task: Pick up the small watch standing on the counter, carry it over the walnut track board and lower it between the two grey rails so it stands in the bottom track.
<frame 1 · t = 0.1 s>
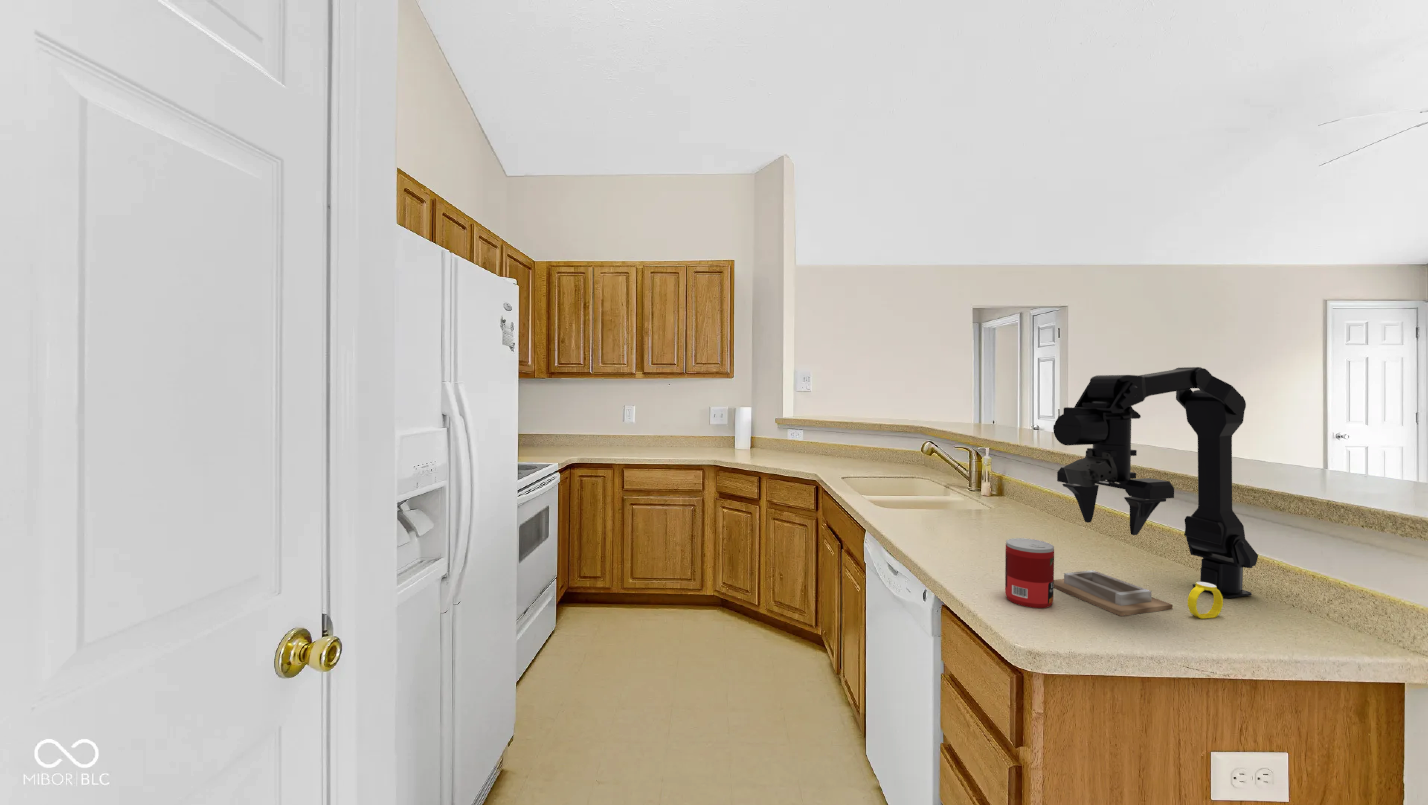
hand: (1110, 528, 102), 15 cm above the worktop, fingers open, 9 cm apart
canned food: (1028, 601, 106), on the worktop
track board: (1105, 596, 108), on the worktop
watch: (1204, 618, 98), on the worktop
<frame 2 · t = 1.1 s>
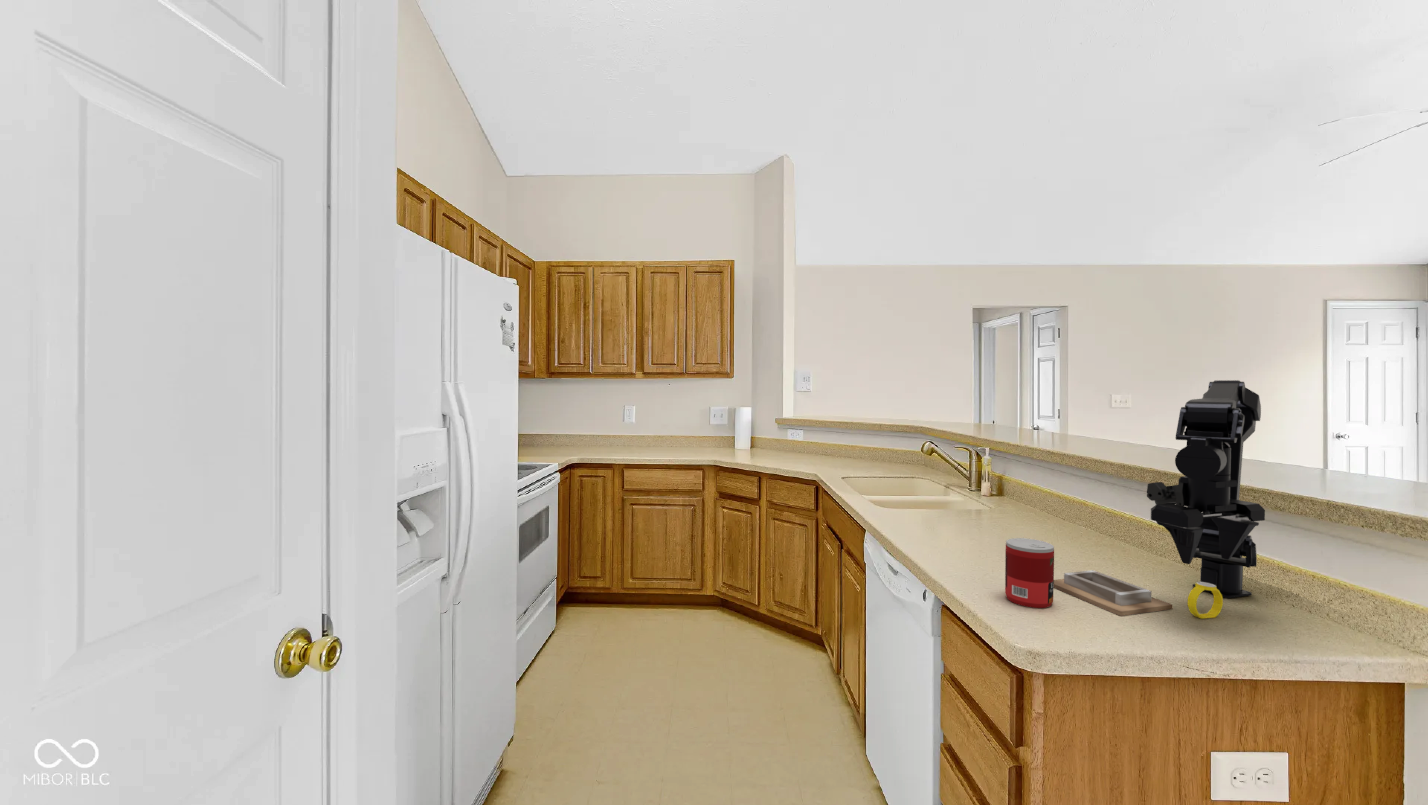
hand: (1206, 561, 98), 10 cm above the worktop, fingers open, 9 cm apart
nothing on the worktop moved.
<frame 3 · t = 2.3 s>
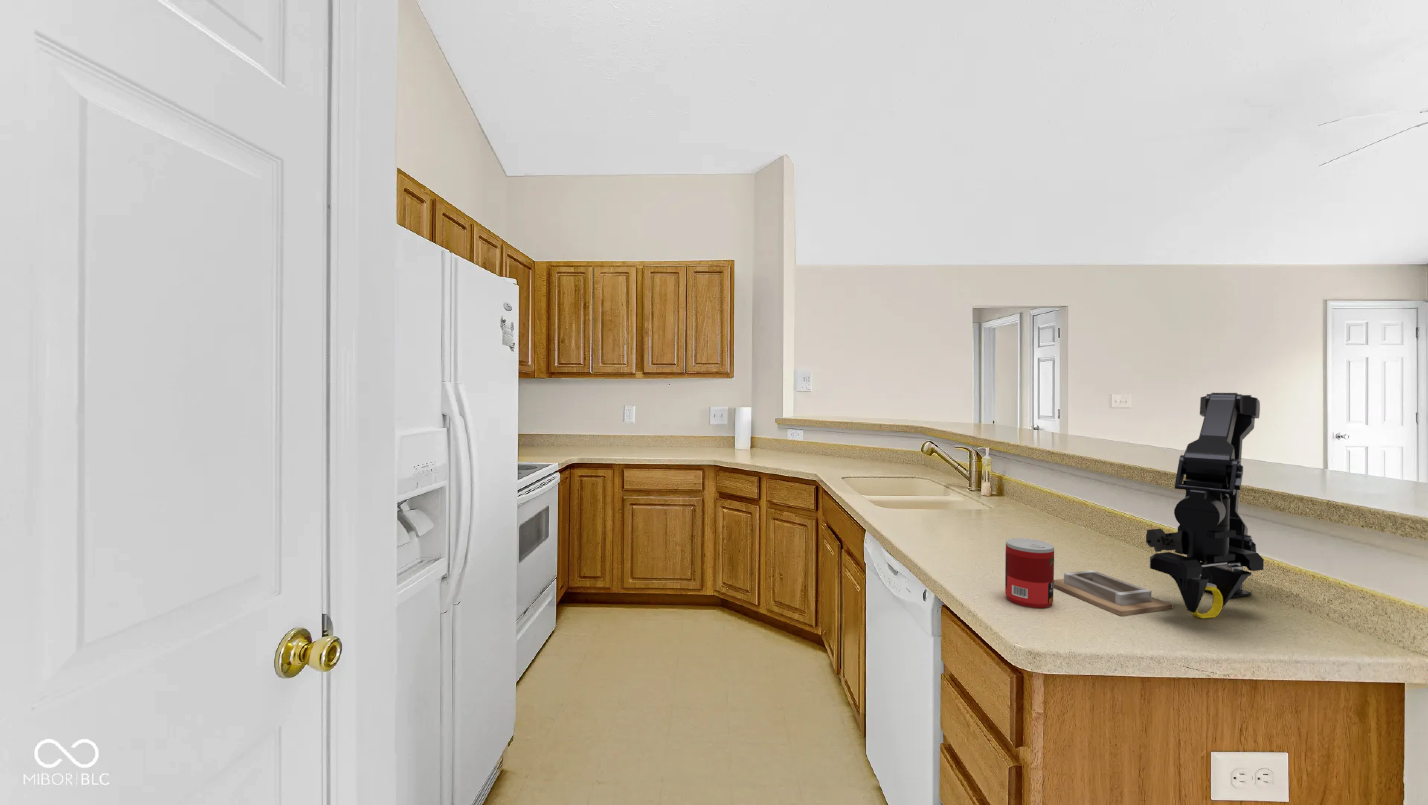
hand: (1205, 609, 98), 1 cm above the worktop, fingers closed on watch, 6 cm apart
watch: (1204, 617, 98), on the worktop, touching gripper
everything else where it was.
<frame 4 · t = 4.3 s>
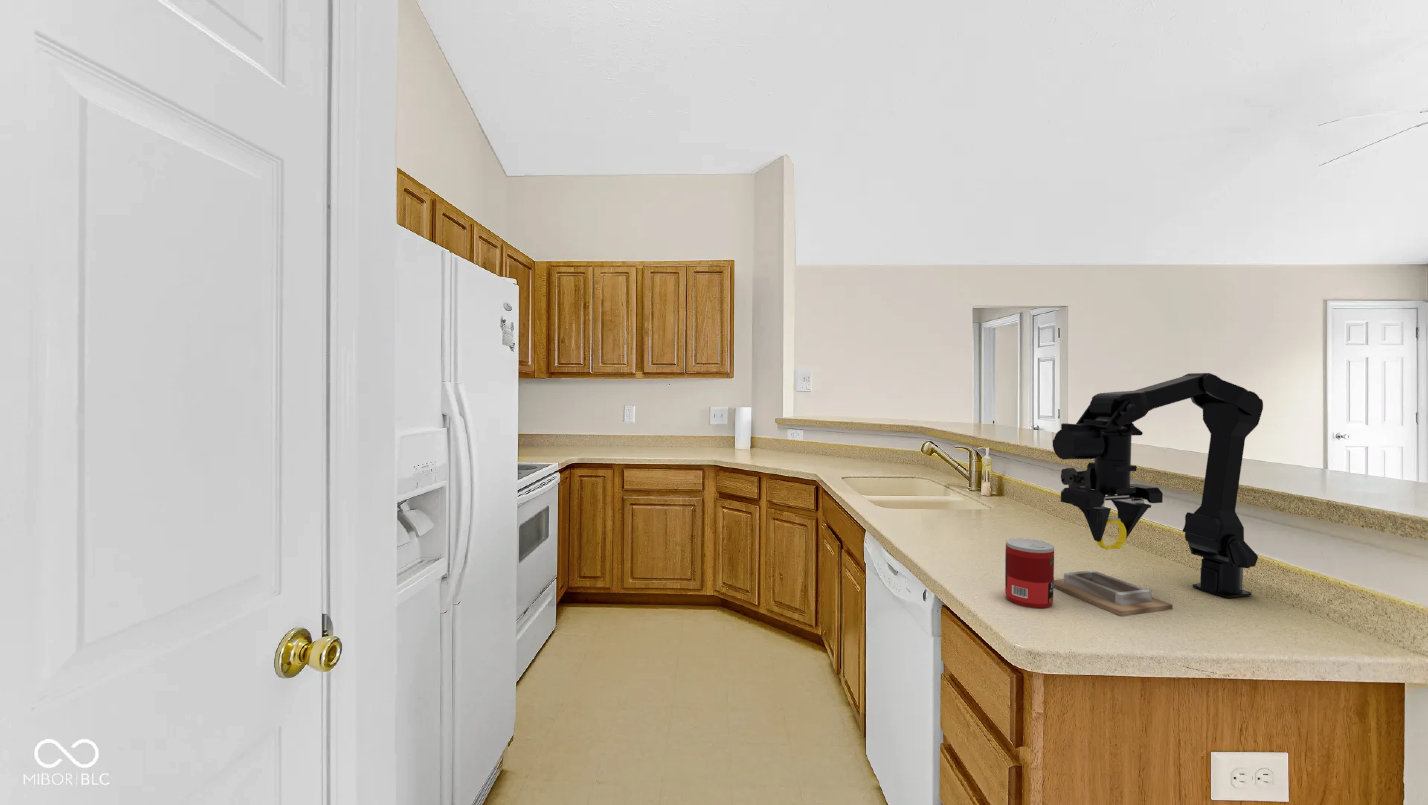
hand: (1110, 539, 107), 11 cm above the worktop, fingers closed on watch, 6 cm apart
watch: (1110, 549, 107), point 9 cm above the worktop, touching gripper
everything else where it was.
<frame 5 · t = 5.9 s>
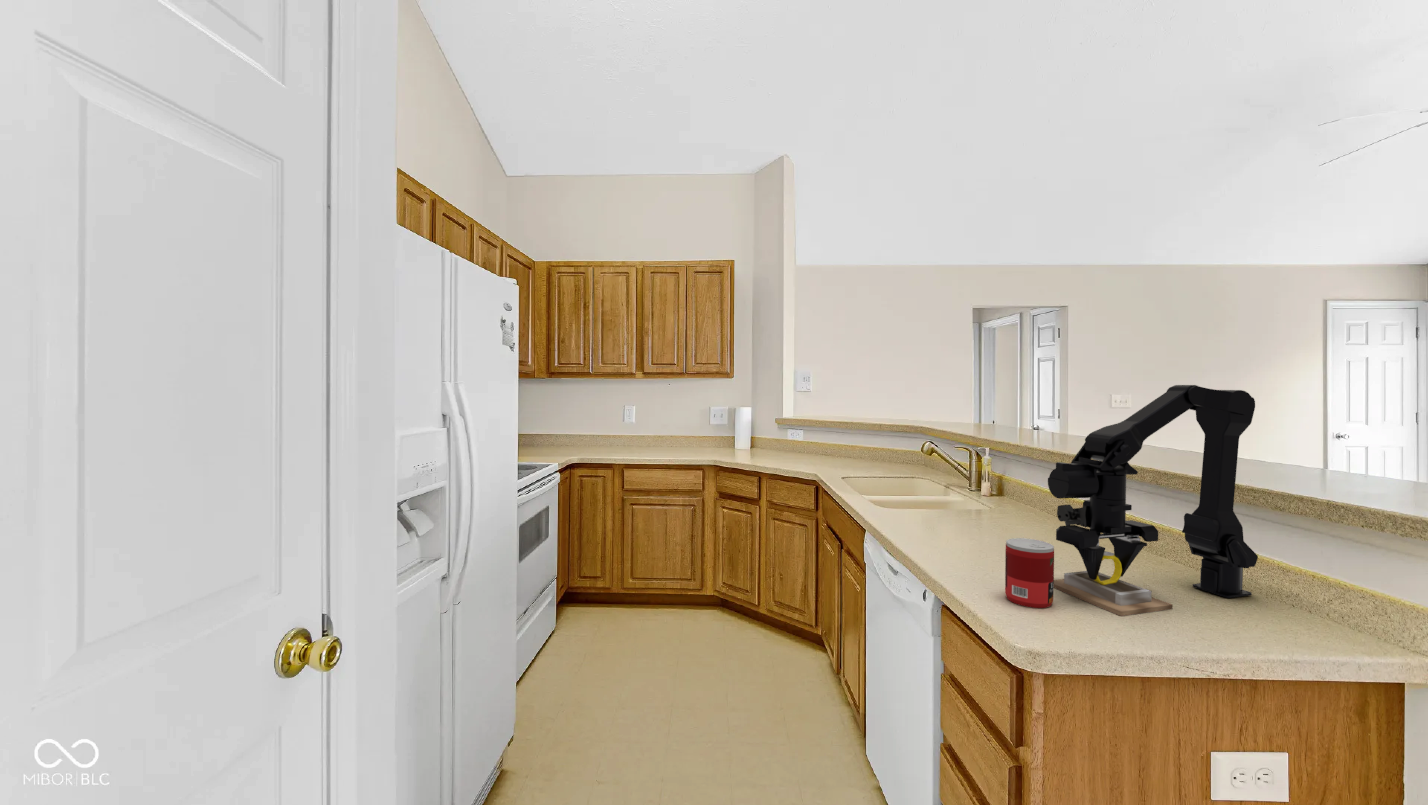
hand: (1105, 577, 108), 4 cm above the worktop, fingers closed on watch, 6 cm apart
watch: (1107, 584, 108), point 2 cm above the worktop, touching gripper, track board
everything else where it was.
when the fingers open (4 cm above the worktop, at t = 6.6 s): watch stays where it is, resting on track board.
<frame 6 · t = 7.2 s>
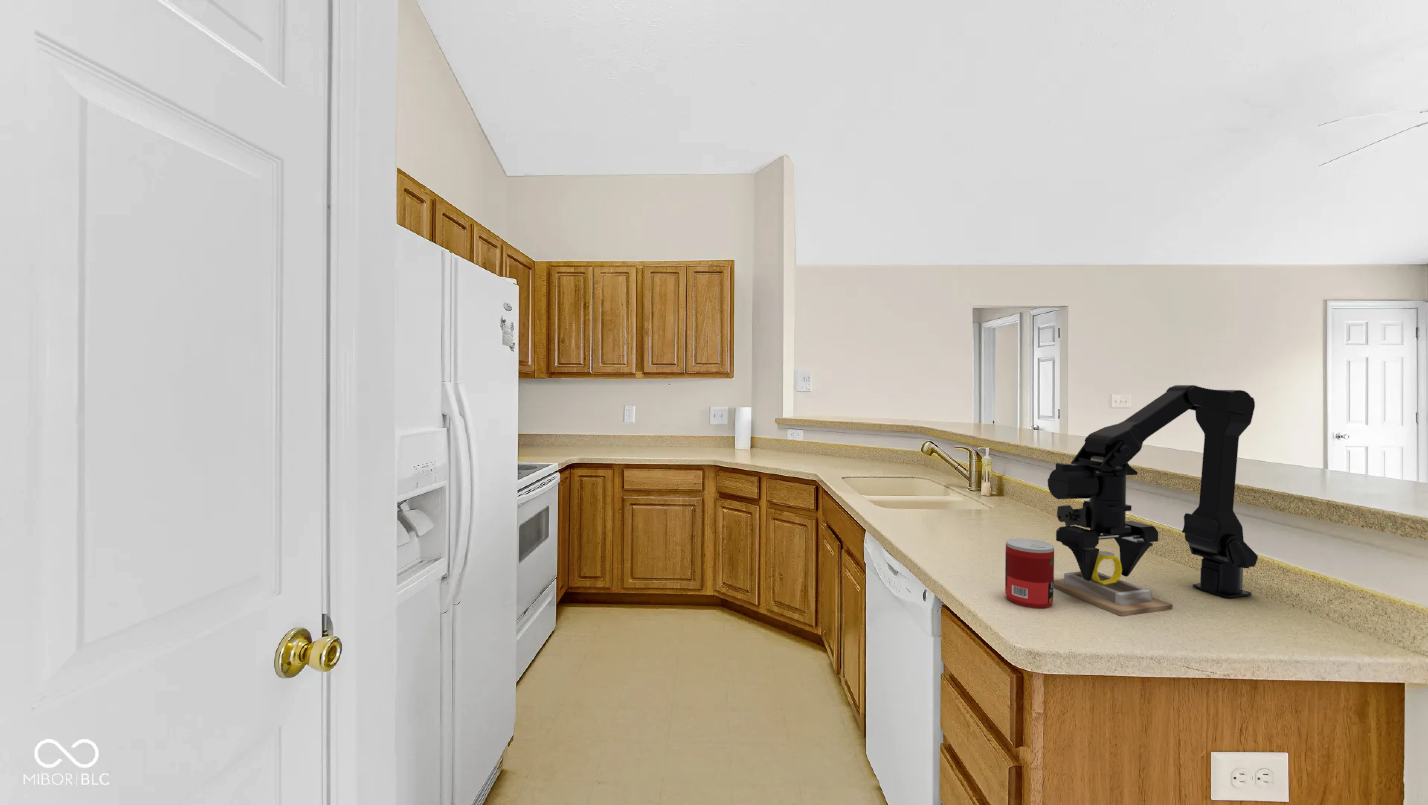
hand: (1106, 578, 108), 4 cm above the worktop, fingers open, 9 cm apart
watch: (1107, 584, 108), point 2 cm above the worktop, touching track board
everything else where it was.
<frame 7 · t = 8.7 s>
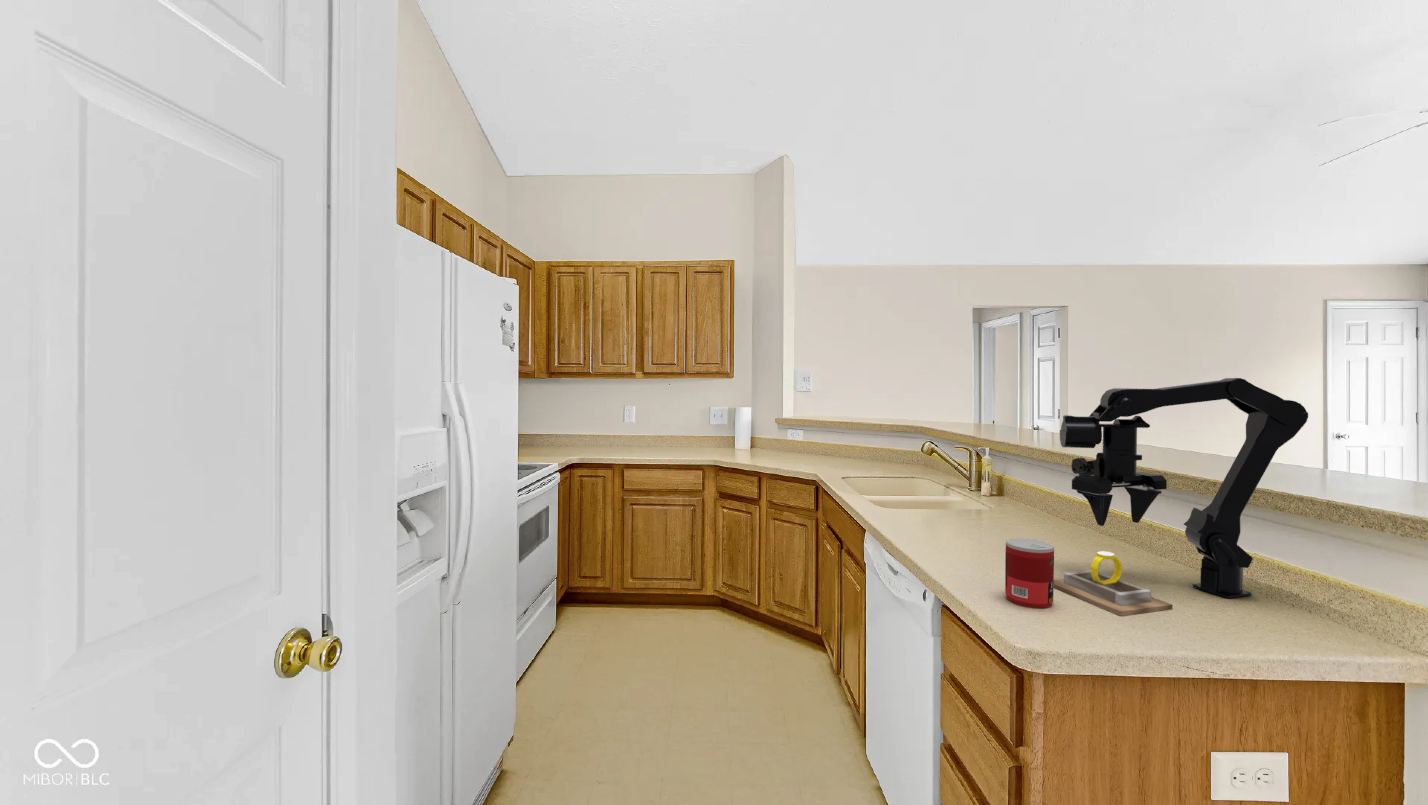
hand: (1118, 524, 116), 12 cm above the worktop, fingers open, 9 cm apart
nothing on the worktop moved.
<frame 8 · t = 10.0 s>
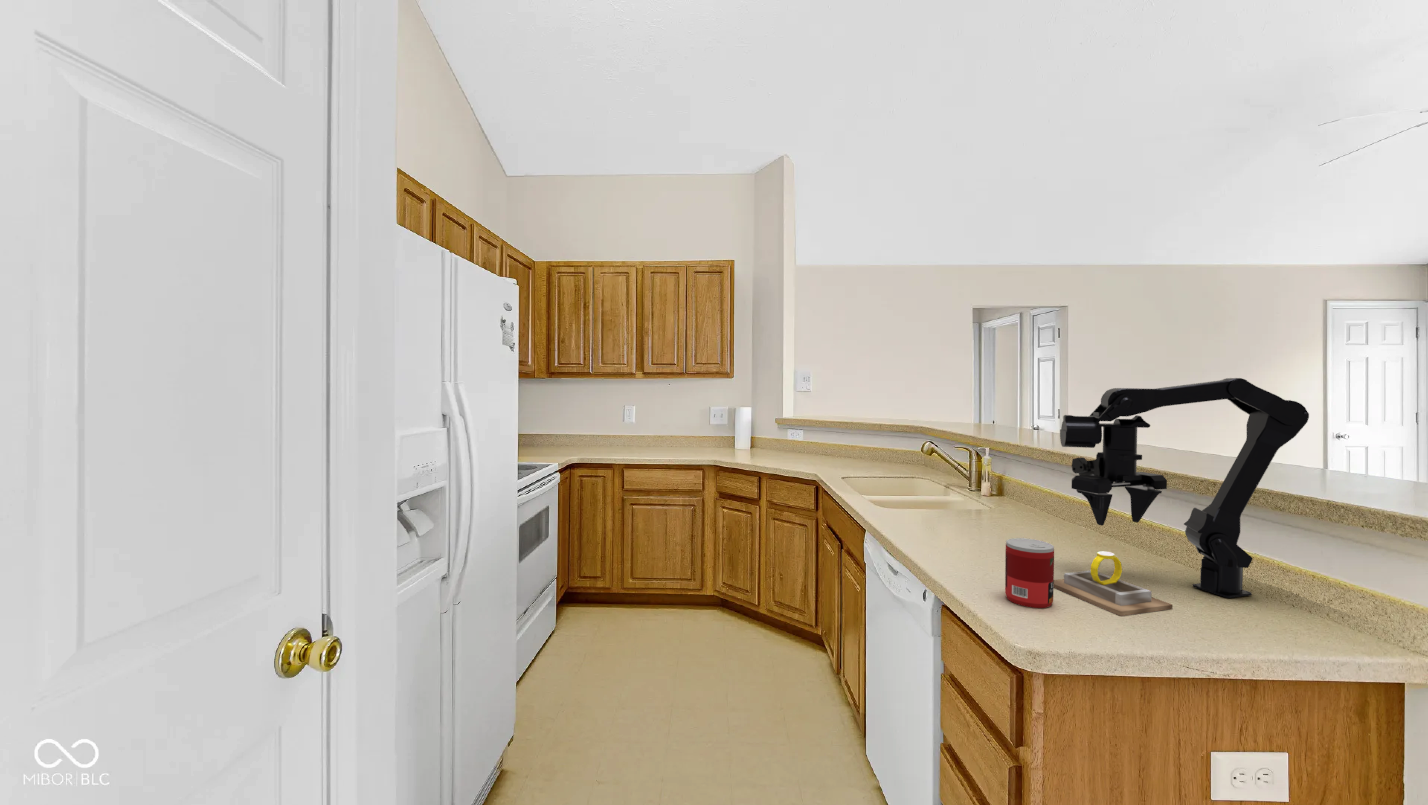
hand: (1118, 523, 116), 12 cm above the worktop, fingers open, 9 cm apart
nothing on the worktop moved.
at the end: watch inside the target area on the track board (0.2 cm from its centre), point 2.4 cm above the track board's base; watch tilted 5°; the gripper is holding nothing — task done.
